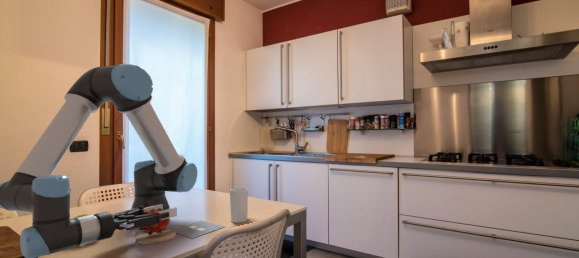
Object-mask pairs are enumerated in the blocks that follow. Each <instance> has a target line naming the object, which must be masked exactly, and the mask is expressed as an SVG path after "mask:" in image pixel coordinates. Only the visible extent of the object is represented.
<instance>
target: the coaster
mask: <svg viewBox="0 0 579 258" xmlns="http://www.w3.org/2000/svg"><path fill="white" fill-rule="evenodd" d="M176 235H177V234H176V233H175V231H173V230H170V229H165V231H162V232H161V233H156V232H153V233H152V234H151V235H149V234H148V233H144V232H143V233H139V234H138V235H136V237H135V243H136V244H140V245H154V244H155V245H156V244H162V243H165V242H167V241H170V240H172V239H174V238H175V237H176Z"/></svg>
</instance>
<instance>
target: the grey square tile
mask: <svg viewBox="0 0 579 258" xmlns="http://www.w3.org/2000/svg"><path fill="white" fill-rule="evenodd" d="M225 227H226V226H225V225H221V224H217V223H213V222H209V221H205V220H202V219H199V220H197V221H194V222H191V223H186V224H184V225H181V226H177V227H173V228H171V229H169V230H173V231H175V233H176V235H179V236H183V237H186V238H189V239H195V238H198V237H201V236H205V235H206V234H209V233H213V232H216V231H218V230H220V229H223V228H225Z"/></svg>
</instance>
